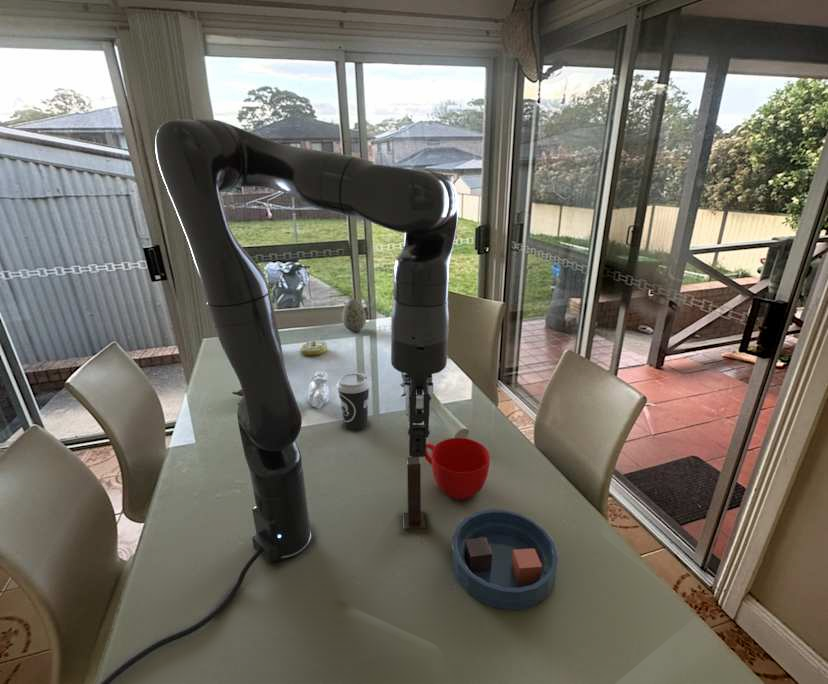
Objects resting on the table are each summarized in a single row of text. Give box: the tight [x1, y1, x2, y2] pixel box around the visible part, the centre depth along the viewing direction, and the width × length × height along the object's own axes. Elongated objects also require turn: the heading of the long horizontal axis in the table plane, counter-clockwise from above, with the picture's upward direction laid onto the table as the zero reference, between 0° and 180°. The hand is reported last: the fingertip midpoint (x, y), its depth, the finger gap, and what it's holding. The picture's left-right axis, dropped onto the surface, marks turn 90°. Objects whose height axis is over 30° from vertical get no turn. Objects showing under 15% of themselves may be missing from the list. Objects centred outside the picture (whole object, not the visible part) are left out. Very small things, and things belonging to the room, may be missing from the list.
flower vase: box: [399, 372, 470, 439], centre depth 132 cm, size 12×12×35 cm
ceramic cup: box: [424, 437, 491, 501], centre depth 100 cm, size 13×17×10 cm
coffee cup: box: [335, 372, 371, 432], centre depth 125 cm, size 10×10×15 cm
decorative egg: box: [341, 298, 367, 333], centre depth 200 cm, size 11×11×15 cm
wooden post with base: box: [402, 456, 427, 531], centre depth 89 cm, size 4×4×16 cm
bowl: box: [451, 508, 559, 611], centre depth 81 cm, size 19×19×5 cm
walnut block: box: [464, 537, 492, 573], centre depth 81 cm, size 4×4×4 cm
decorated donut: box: [299, 340, 328, 357], centre depth 178 cm, size 10×11×4 cm
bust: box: [307, 371, 330, 409], centre depth 139 cm, size 12×8×11 cm
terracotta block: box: [511, 548, 542, 585], centre depth 78 cm, size 4×4×4 cm
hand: (416, 437), depth 64 cm, fingers open, 8 cm apart
